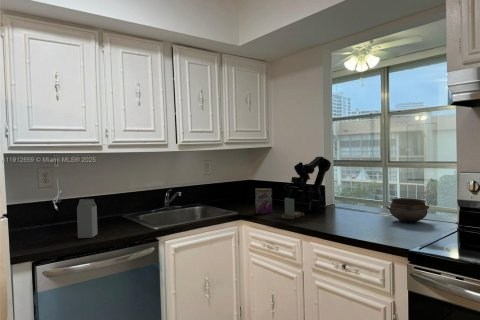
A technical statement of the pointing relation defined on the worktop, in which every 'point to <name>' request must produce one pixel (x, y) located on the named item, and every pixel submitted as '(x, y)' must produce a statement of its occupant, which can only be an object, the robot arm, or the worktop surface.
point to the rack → (292, 216)
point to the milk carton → (87, 218)
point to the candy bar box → (263, 201)
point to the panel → (289, 206)
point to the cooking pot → (408, 209)
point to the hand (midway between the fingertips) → (293, 199)
